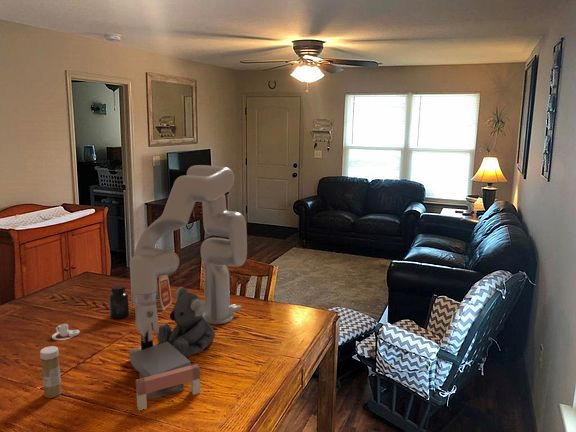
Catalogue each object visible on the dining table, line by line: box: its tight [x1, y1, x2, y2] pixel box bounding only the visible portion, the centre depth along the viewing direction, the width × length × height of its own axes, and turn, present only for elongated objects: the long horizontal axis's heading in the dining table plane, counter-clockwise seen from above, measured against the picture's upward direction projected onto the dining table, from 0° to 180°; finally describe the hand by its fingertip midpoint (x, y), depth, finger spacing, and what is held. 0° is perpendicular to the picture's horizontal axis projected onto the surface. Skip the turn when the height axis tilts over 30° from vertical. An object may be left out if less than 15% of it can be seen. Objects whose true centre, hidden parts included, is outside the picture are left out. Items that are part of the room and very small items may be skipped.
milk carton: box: [156, 274, 173, 311], centre depth 196 cm, size 9×9×20 cm
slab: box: [129, 342, 192, 378], centre depth 142 cm, size 12×14×3 cm
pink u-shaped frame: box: [135, 363, 201, 412], centre depth 132 cm, size 17×2×8 cm, turn 121°
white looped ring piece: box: [51, 323, 81, 341], centre depth 170 cm, size 9×8×4 cm
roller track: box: [128, 343, 185, 401], centre depth 145 cm, size 10×25×4 cm, turn 31°
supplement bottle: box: [108, 284, 130, 321], centre depth 185 cm, size 7×7×12 cm
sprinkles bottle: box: [39, 345, 63, 399], centre depth 133 cm, size 5×5×14 cm
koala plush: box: [156, 286, 216, 358], centre depth 162 cm, size 17×18×20 cm
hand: (147, 352), depth 149 cm, fingers closed
